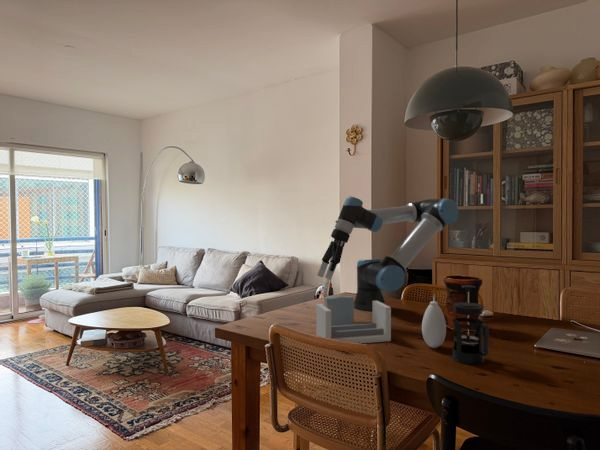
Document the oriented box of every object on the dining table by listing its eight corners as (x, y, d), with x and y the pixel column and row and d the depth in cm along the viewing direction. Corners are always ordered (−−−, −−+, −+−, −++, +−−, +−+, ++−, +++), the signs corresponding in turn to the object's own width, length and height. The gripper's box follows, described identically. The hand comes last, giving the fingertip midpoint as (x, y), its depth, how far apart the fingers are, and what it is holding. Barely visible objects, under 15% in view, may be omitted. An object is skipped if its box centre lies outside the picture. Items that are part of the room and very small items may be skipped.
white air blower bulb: (421, 349, 143) (421, 295, 142) (421, 342, 150) (421, 291, 150) (446, 351, 141) (447, 296, 140) (445, 344, 148) (445, 292, 148)
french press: (443, 357, 135) (444, 284, 135) (463, 352, 140) (463, 281, 140) (476, 369, 125) (477, 290, 125) (496, 362, 130) (496, 287, 130)
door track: (377, 331, 165) (377, 300, 164) (390, 340, 153) (390, 307, 153) (316, 336, 159) (316, 303, 159) (325, 346, 148) (325, 311, 147)
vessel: (435, 323, 176) (436, 274, 175) (466, 322, 179) (468, 274, 178) (454, 333, 162) (456, 280, 161) (488, 331, 165) (490, 279, 164)
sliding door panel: (350, 325, 175) (350, 295, 174) (354, 327, 171) (353, 297, 171) (324, 327, 172) (324, 297, 172) (327, 329, 168) (327, 298, 168)
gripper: (327, 229, 197) (309, 272, 194) (342, 226, 172) (322, 275, 170) (341, 235, 198) (324, 278, 195) (359, 233, 173) (339, 283, 171)
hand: (323, 277), depth 182 cm, fingers open, 13 cm apart
